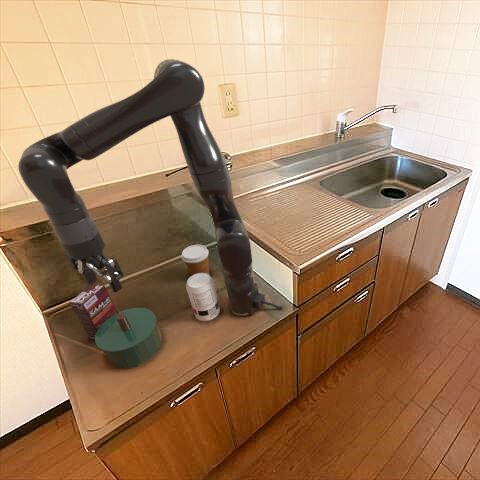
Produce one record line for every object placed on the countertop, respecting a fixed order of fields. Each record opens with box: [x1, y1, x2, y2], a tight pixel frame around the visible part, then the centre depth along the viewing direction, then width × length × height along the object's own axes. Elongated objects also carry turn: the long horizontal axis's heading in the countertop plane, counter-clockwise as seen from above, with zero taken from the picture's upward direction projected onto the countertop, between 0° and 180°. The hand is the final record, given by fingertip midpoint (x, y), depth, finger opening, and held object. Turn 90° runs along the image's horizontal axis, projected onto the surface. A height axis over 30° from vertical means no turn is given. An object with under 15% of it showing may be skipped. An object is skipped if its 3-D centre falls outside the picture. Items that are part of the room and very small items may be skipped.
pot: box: [102, 321, 163, 370], centre depth 94 cm, size 15×15×8 cm
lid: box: [94, 307, 157, 352], centre depth 90 cm, size 16×16×6 cm
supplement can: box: [185, 273, 221, 322], centre depth 103 cm, size 8×8×15 cm
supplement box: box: [69, 282, 119, 340], centre depth 97 cm, size 9×5×16 cm, turn 168°
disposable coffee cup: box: [181, 244, 210, 277], centre depth 119 cm, size 10×10×12 cm
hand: (105, 286), depth 82 cm, fingers open, 8 cm apart
